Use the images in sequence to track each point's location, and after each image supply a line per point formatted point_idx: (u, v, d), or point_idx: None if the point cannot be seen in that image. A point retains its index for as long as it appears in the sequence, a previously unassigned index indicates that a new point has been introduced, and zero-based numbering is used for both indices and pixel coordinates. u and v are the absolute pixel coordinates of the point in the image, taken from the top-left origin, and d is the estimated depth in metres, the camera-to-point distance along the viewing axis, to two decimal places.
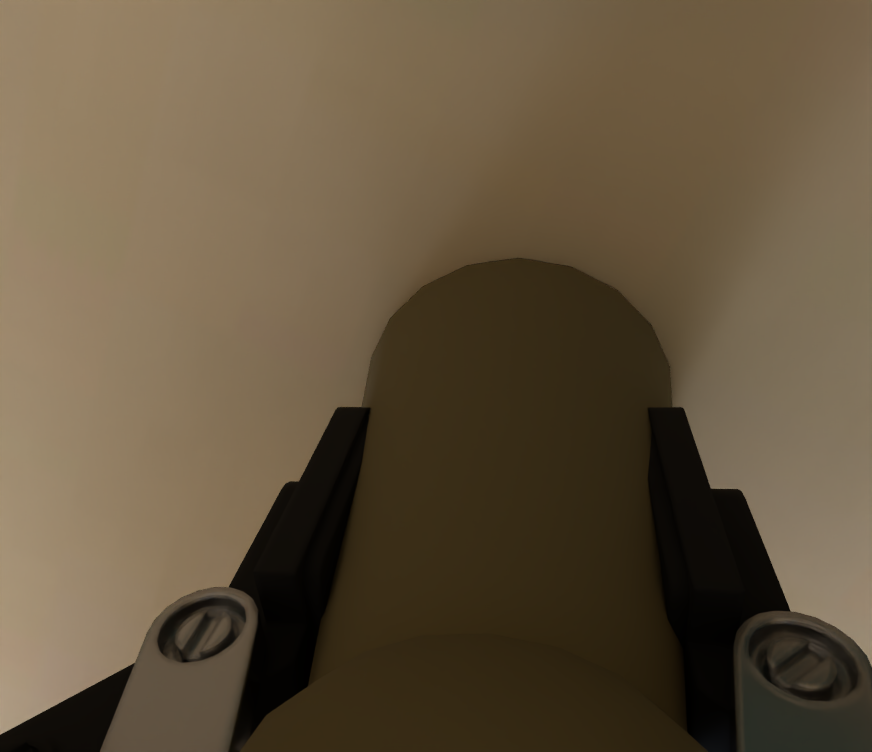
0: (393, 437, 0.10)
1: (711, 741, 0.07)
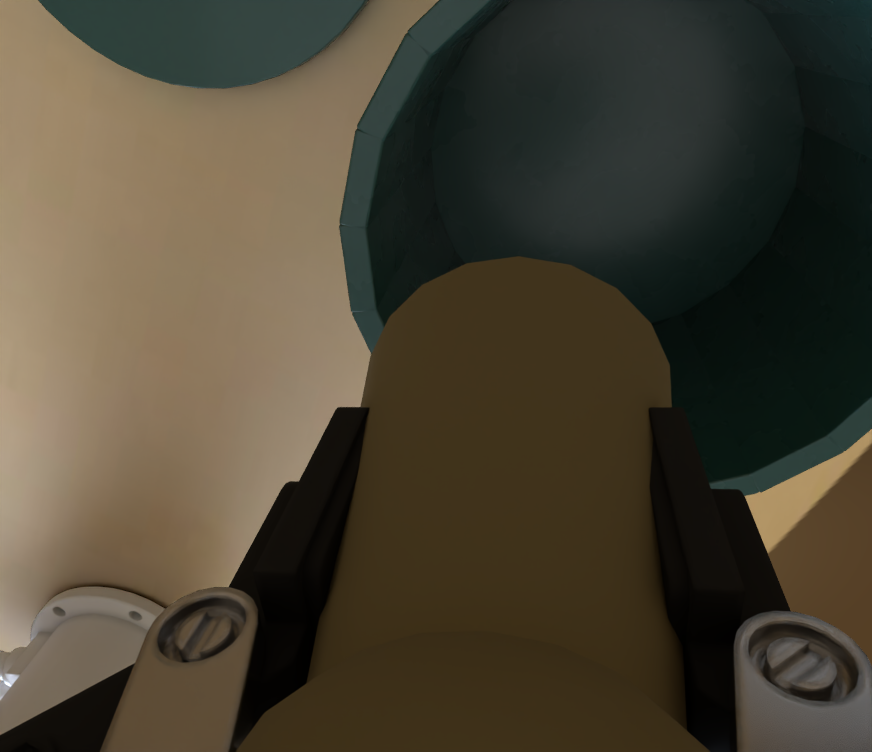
0: (392, 435, 0.10)
1: (711, 741, 0.07)
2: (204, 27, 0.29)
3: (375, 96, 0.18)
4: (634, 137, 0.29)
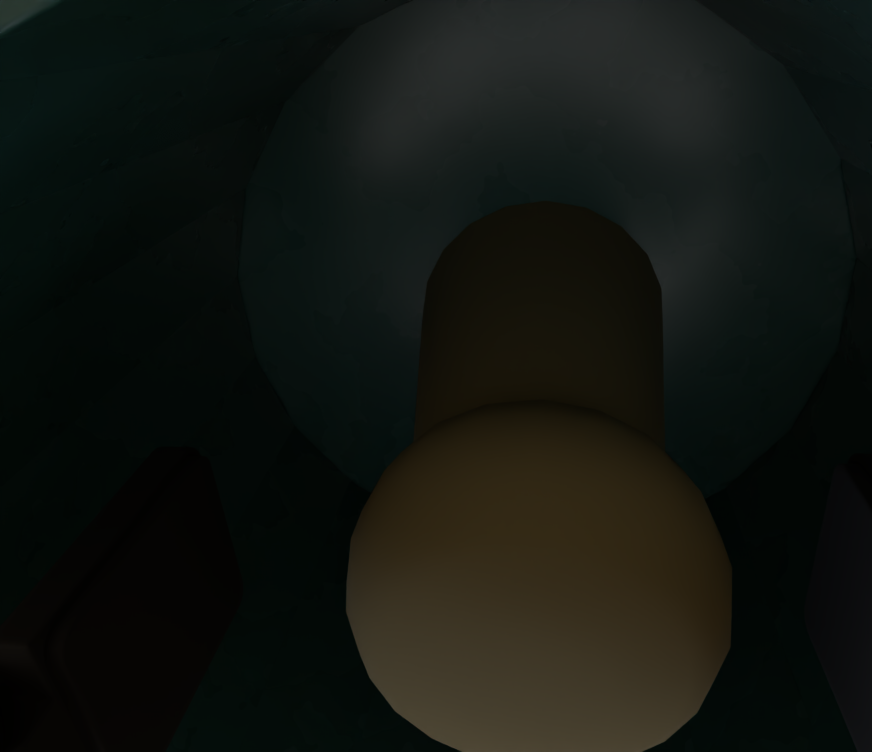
0: (460, 316, 0.13)
1: None
2: None
3: None
4: None
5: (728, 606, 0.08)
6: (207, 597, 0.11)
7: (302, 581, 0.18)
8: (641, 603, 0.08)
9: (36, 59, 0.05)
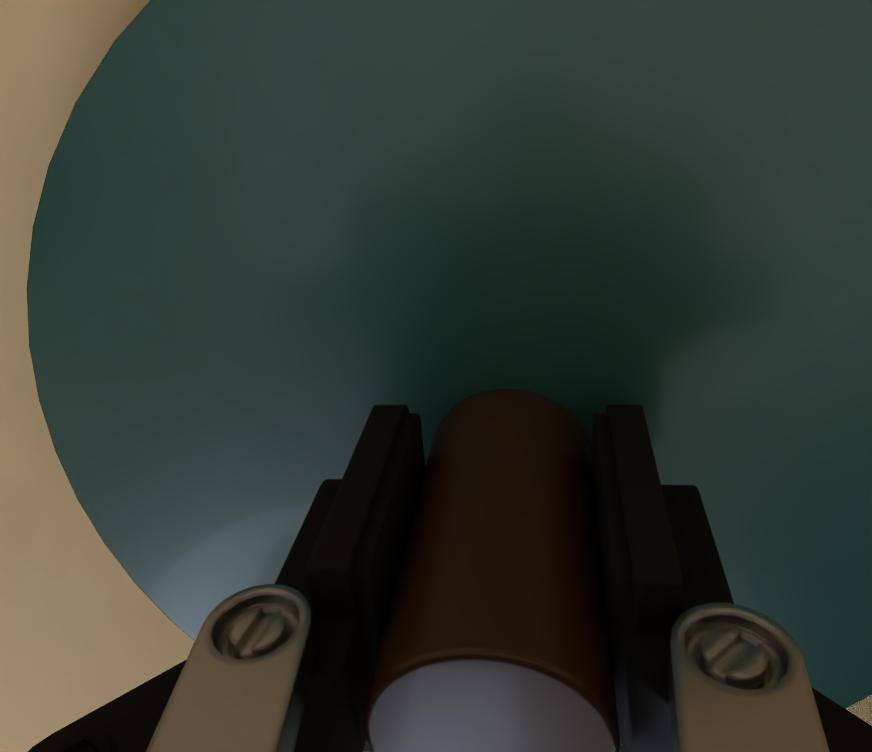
0: None
1: (651, 729, 0.07)
2: None
3: None
4: None
5: None
6: None
7: None
8: None
9: None
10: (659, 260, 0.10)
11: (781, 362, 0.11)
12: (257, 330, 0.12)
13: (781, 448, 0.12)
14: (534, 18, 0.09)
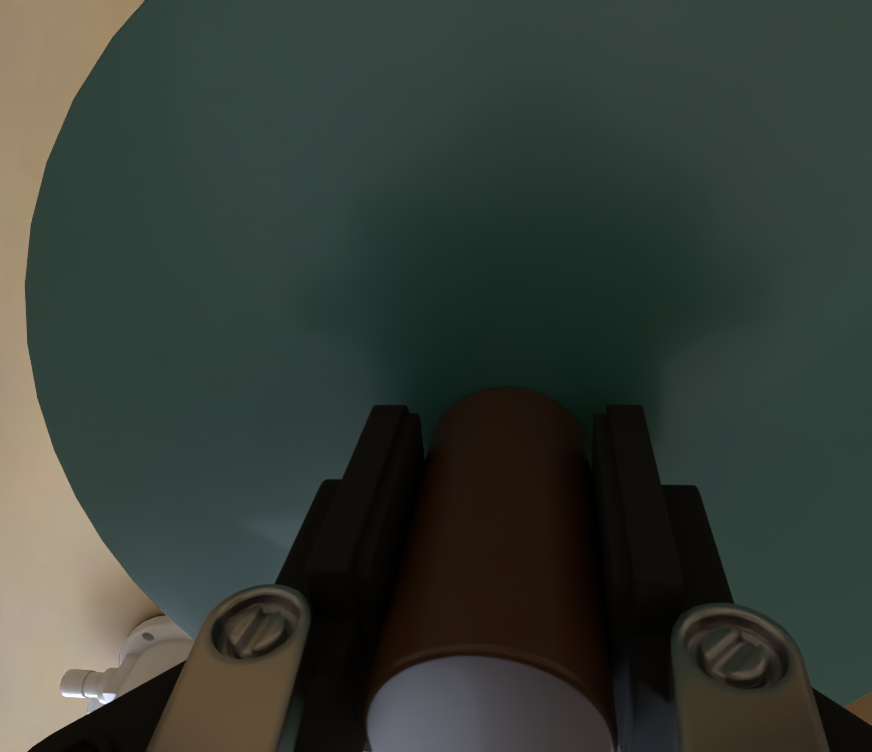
0: None
1: (652, 729, 0.07)
2: None
3: None
4: None
5: None
6: None
7: None
8: None
9: None
10: (658, 257, 0.10)
11: (780, 359, 0.11)
12: (255, 327, 0.12)
13: (780, 445, 0.12)
14: (532, 14, 0.09)
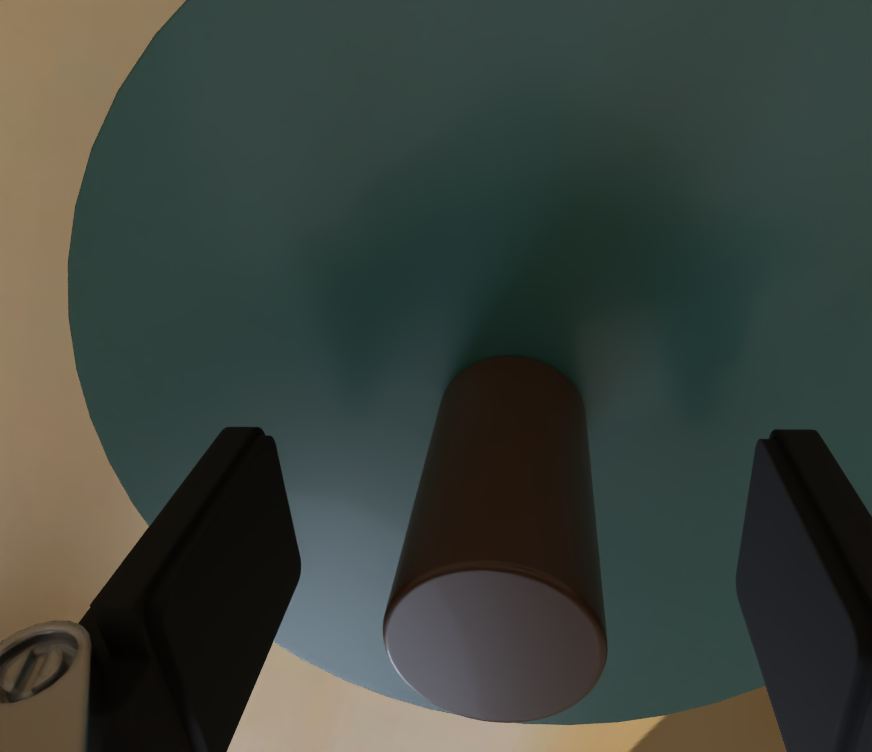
0: None
1: None
2: None
3: None
4: None
5: None
6: (273, 572, 0.11)
7: None
8: None
9: None
10: (647, 234, 0.12)
11: (759, 328, 0.12)
12: (280, 301, 0.13)
13: (760, 409, 0.13)
14: (533, 14, 0.10)
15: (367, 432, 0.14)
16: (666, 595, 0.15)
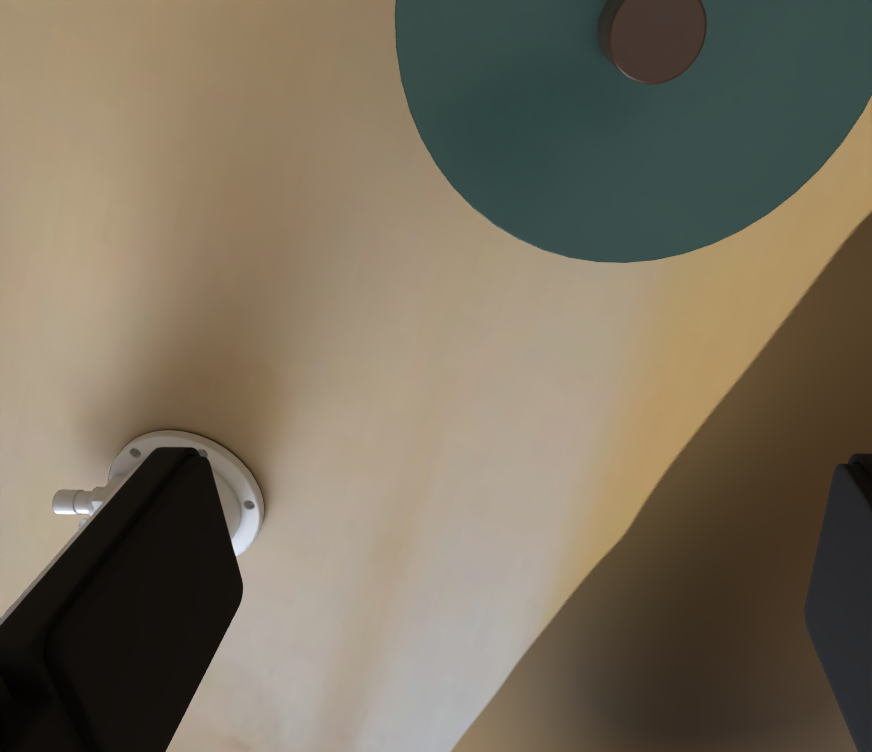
0: None
1: None
2: (619, 208, 0.29)
3: None
4: None
5: None
6: (206, 597, 0.11)
7: None
8: None
9: None
10: None
11: None
12: None
13: (768, 9, 0.25)
14: None
15: (555, 43, 0.26)
16: (715, 147, 0.27)
